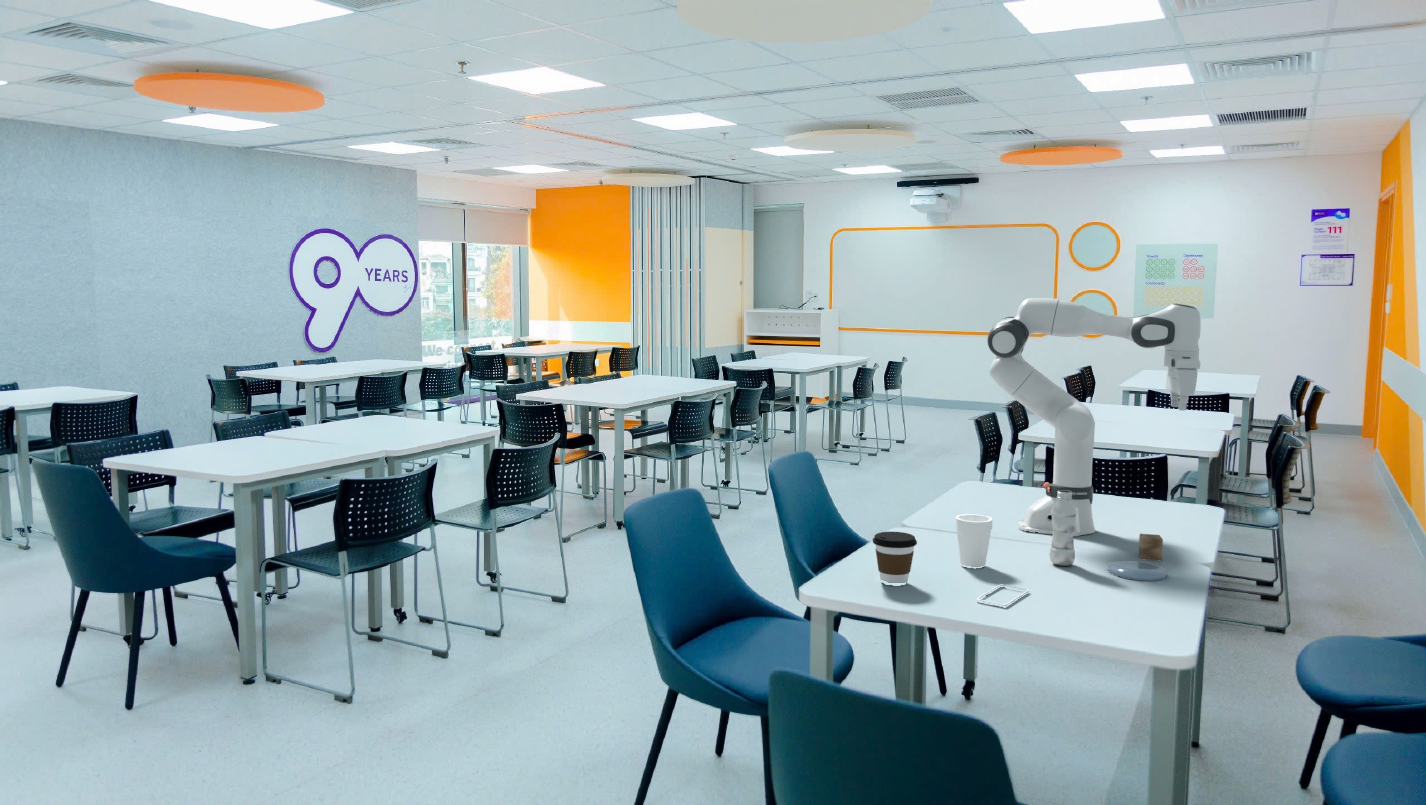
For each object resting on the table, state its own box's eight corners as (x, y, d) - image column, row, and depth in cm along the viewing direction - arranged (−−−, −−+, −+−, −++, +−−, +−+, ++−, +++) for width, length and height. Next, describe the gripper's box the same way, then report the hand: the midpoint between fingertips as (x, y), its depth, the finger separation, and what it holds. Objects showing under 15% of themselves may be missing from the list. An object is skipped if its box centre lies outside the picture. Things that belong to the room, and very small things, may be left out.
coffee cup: (890, 592, 225) (891, 543, 224) (863, 580, 235) (863, 533, 234) (925, 585, 230) (926, 538, 229) (897, 574, 240) (898, 529, 239)
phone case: (1005, 610, 213) (1029, 594, 224) (1005, 604, 213) (1029, 589, 224) (975, 604, 218) (1000, 589, 229) (975, 598, 217) (1000, 583, 229)
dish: (1111, 578, 236) (1111, 573, 236) (1104, 563, 249) (1104, 559, 249) (1171, 582, 232) (1172, 578, 232) (1161, 567, 245) (1161, 563, 245)
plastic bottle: (1074, 562, 250) (1077, 489, 248) (1075, 569, 244) (1078, 494, 242) (1048, 560, 252) (1051, 488, 250) (1049, 567, 246) (1051, 493, 244)
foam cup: (993, 563, 250) (995, 516, 249) (988, 572, 242) (989, 523, 240) (957, 559, 254) (958, 512, 253) (951, 568, 246) (952, 520, 244)
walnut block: (1141, 559, 253) (1142, 538, 253) (1138, 554, 258) (1139, 533, 258) (1161, 560, 252) (1162, 539, 251) (1158, 555, 257) (1159, 534, 256)
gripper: (1161, 358, 277) (1159, 404, 279) (1177, 362, 258) (1174, 411, 259) (1184, 358, 276) (1182, 405, 277) (1202, 363, 256) (1198, 412, 257)
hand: (1178, 408), depth 268 cm, fingers open, 8 cm apart
